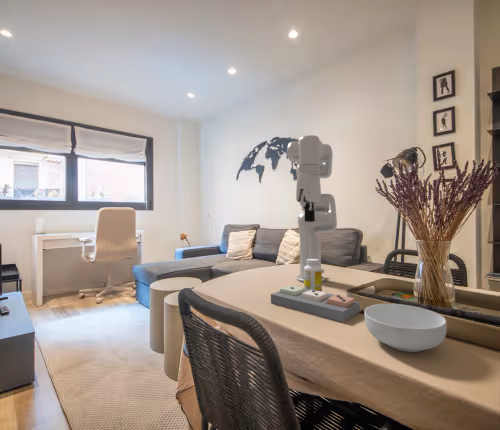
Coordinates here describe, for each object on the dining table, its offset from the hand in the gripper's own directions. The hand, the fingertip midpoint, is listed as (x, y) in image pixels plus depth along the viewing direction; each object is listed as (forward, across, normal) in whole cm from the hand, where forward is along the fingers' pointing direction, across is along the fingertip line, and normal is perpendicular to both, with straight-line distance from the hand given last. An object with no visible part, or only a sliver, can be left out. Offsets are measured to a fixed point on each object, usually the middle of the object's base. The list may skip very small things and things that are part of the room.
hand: (309, 221), depth 102 cm
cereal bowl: (+27, +18, +36) cm, 48 cm away
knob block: (+27, +8, -2) cm, 29 cm away
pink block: (+27, +8, +16) cm, 32 cm away
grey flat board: (+27, +8, +7) cm, 29 cm away
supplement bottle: (+28, -6, -2) cm, 29 cm away
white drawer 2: (+27, +8, +7) cm, 29 cm away
